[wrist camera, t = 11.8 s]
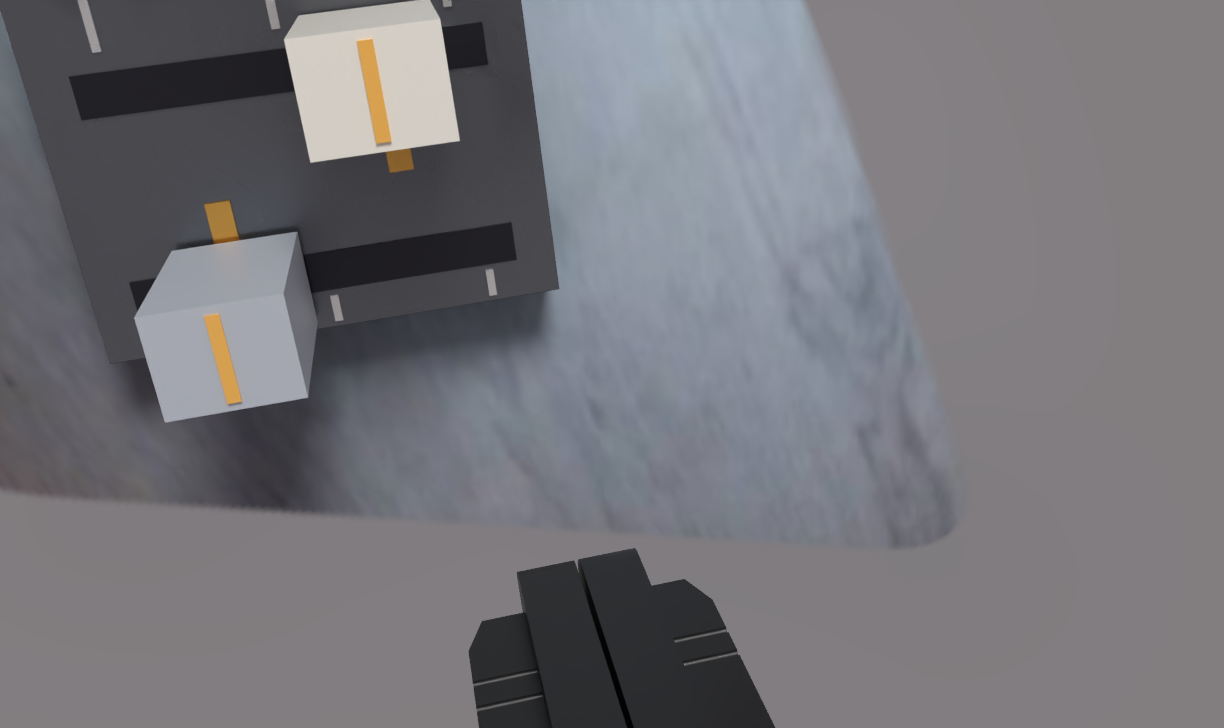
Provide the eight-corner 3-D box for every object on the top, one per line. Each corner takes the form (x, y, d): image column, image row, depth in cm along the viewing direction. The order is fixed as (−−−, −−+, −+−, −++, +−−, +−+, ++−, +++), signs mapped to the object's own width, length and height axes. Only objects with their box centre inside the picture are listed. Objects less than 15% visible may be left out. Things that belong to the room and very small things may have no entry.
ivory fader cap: (298, 15, 26) (283, 40, 22) (428, -2, 26) (440, 19, 22) (320, 119, 27) (310, 163, 23) (445, 101, 27) (460, 141, 23)
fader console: (13, -38, 26) (-14, -33, 25) (499, -96, 28) (508, -96, 26) (125, 335, 30) (109, 364, 28) (548, 266, 32) (559, 289, 30)
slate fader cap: (171, 250, 27) (133, 319, 23) (297, 231, 28) (283, 294, 23) (196, 342, 28) (164, 423, 24) (318, 321, 29) (307, 398, 24)
